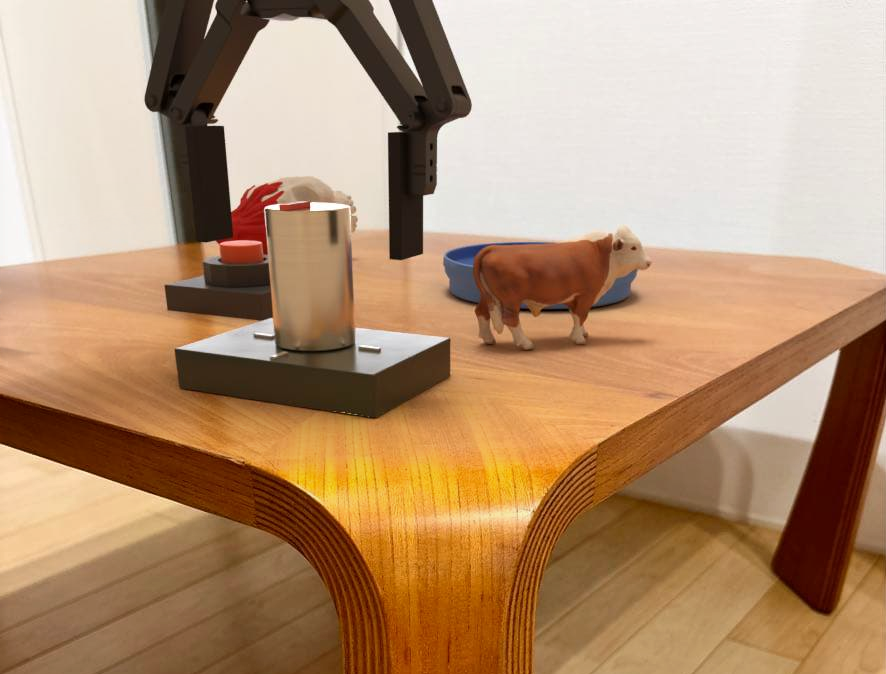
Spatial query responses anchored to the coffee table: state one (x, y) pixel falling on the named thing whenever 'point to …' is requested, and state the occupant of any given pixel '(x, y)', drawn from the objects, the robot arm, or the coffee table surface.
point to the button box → (225, 290)
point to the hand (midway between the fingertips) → (306, 248)
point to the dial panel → (316, 369)
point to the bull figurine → (551, 279)
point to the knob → (311, 275)
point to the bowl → (465, 288)
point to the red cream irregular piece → (282, 191)
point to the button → (241, 251)
